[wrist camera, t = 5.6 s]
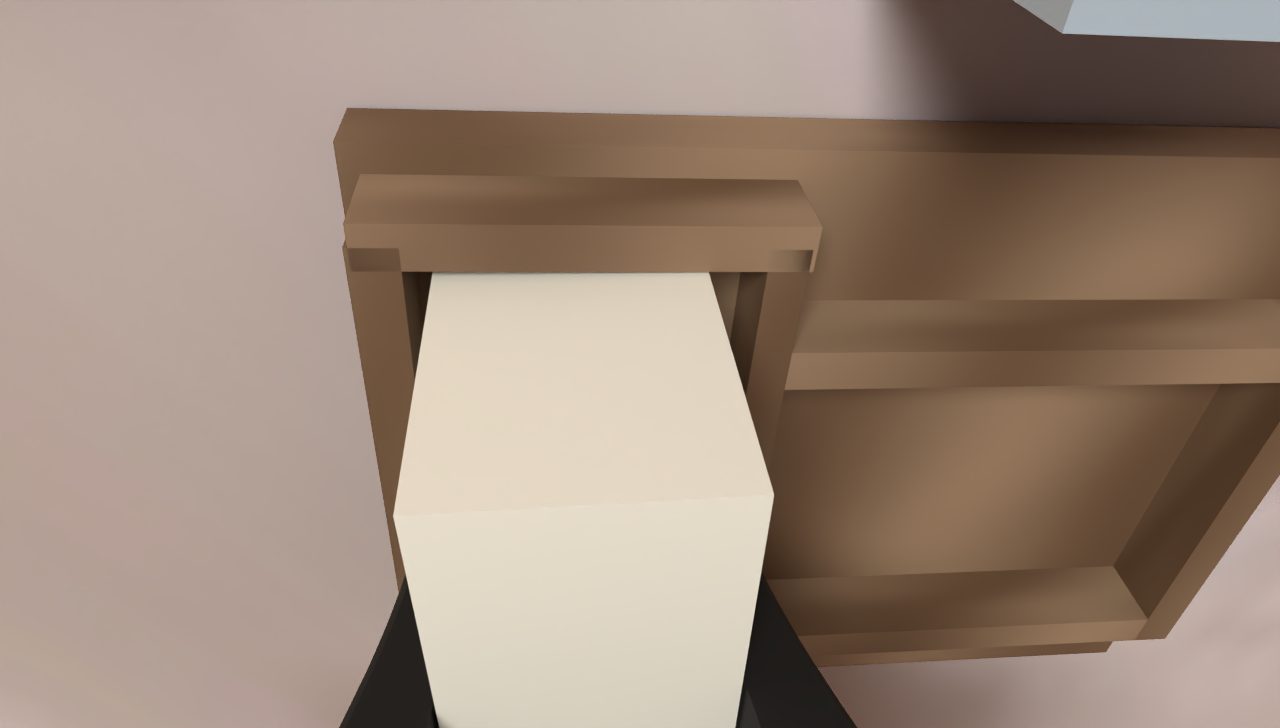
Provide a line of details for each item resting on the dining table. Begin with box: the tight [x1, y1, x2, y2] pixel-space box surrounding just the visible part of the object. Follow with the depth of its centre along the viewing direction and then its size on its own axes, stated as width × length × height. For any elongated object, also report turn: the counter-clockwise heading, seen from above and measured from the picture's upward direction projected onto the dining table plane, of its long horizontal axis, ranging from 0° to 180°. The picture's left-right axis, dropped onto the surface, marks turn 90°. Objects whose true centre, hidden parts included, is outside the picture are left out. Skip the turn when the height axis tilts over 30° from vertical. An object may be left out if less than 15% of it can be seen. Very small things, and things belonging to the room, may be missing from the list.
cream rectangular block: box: [393, 272, 774, 728], centre depth 12 cm, size 3×8×5 cm, turn 179°
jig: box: [333, 108, 1280, 667], centre depth 14 cm, size 14×11×2 cm
